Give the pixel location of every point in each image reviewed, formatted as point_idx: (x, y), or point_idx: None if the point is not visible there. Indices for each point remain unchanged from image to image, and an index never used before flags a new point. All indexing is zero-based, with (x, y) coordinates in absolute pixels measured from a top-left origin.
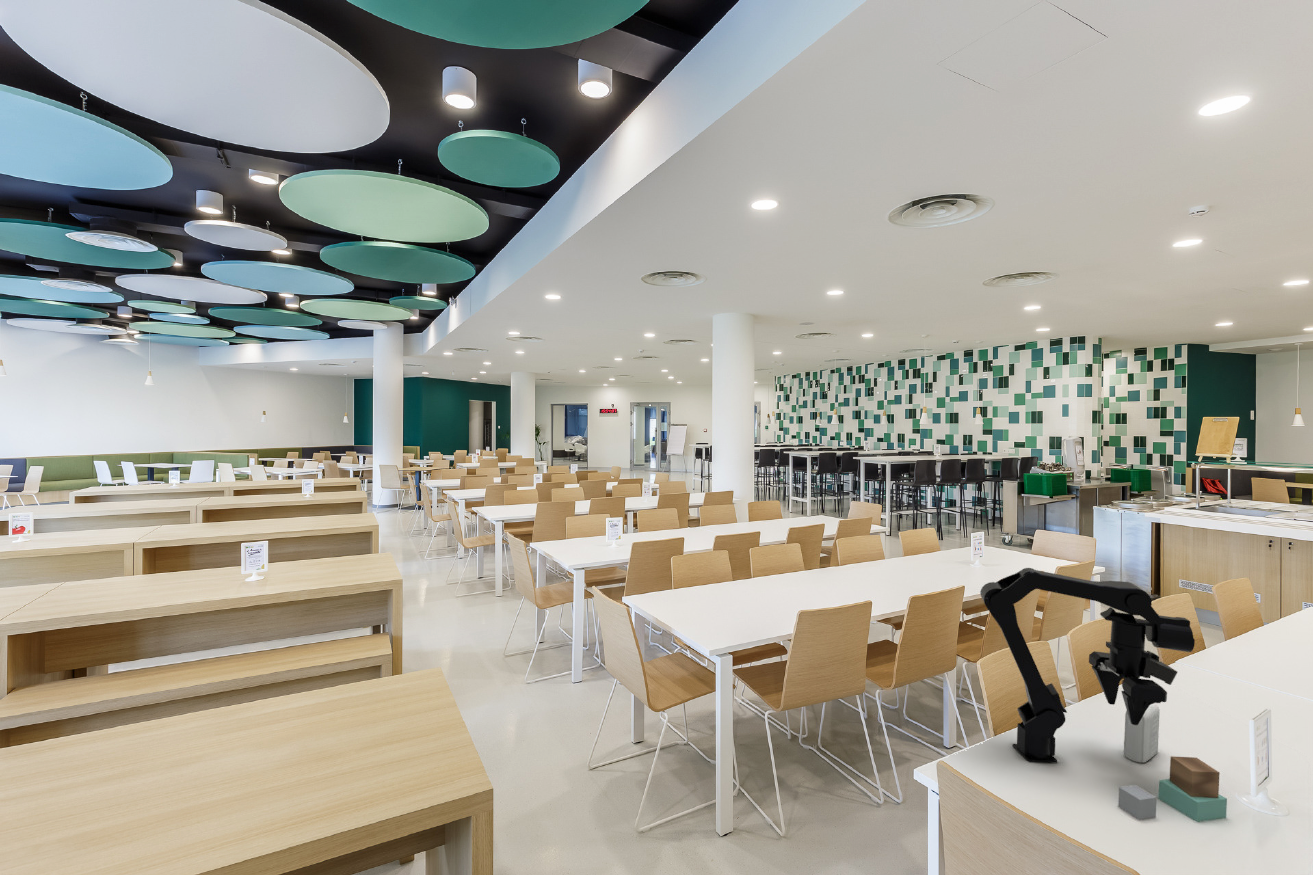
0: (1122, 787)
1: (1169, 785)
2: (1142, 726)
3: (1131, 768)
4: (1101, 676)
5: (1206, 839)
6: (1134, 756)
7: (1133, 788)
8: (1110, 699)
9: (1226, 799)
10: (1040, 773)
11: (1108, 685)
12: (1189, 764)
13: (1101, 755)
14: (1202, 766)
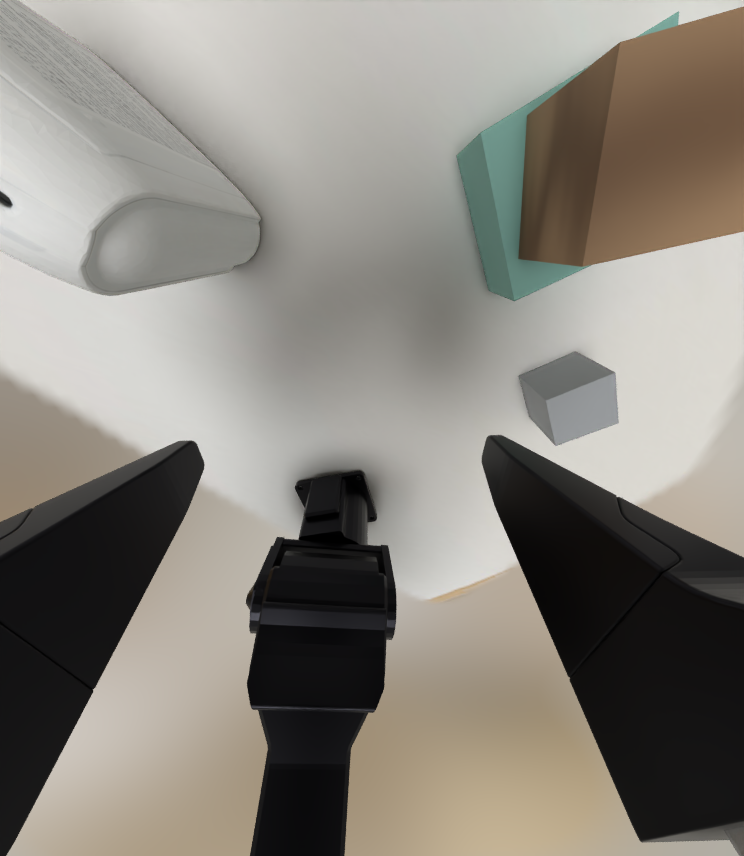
0: (557, 438)
1: (547, 279)
2: (179, 210)
3: (317, 284)
4: (51, 740)
5: (685, 261)
6: (253, 247)
7: (563, 413)
8: (186, 483)
9: (673, 18)
10: (417, 508)
11: (102, 599)
12: (683, 196)
13: (265, 348)
14: (727, 95)
